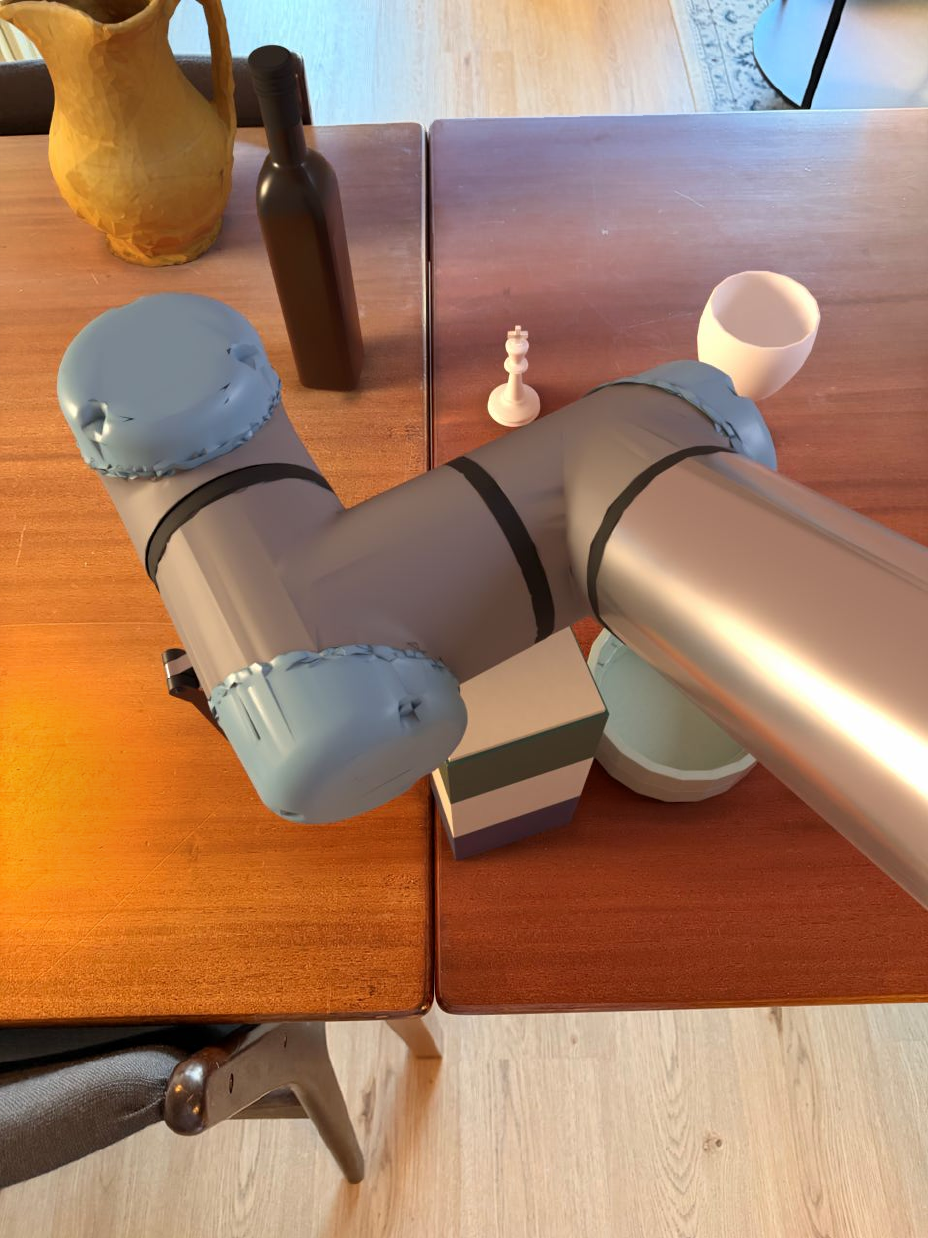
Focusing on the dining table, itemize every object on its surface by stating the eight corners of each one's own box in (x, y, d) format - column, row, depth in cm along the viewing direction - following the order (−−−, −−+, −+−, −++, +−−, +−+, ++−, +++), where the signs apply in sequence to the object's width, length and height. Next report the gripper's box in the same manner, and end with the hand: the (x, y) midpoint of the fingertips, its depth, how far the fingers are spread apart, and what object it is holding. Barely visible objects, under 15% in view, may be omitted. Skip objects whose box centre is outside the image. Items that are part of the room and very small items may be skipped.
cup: (762, 489, 80) (824, 361, 66) (660, 473, 81) (699, 343, 67) (767, 411, 84) (826, 274, 70) (670, 397, 85) (709, 259, 71)
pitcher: (99, 168, 101) (6, -86, 78) (266, 179, 101) (222, -71, 79) (64, 282, 93) (-51, 38, 71) (244, 293, 94) (188, 54, 71)
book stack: (570, 822, 67) (610, 714, 47) (455, 861, 66) (446, 767, 46) (542, 749, 70) (567, 618, 50) (430, 785, 68) (412, 665, 49)
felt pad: (604, 712, 47) (605, 709, 47) (449, 762, 46) (449, 760, 46) (565, 622, 50) (566, 618, 50) (417, 668, 49) (417, 665, 48)
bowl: (796, 769, 69) (823, 742, 63) (621, 829, 67) (633, 807, 61) (713, 610, 75) (731, 574, 70) (550, 661, 73) (556, 628, 68)
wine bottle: (297, 389, 86) (217, 79, 60) (310, 345, 89) (239, 28, 62) (356, 395, 86) (301, 85, 59) (367, 350, 88) (319, 34, 62)
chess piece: (541, 426, 84) (548, 348, 75) (488, 427, 84) (489, 349, 75) (538, 385, 86) (545, 305, 77) (487, 386, 86) (488, 306, 77)
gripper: (391, 474, 47) (419, 663, 68) (75, 562, 45) (203, 730, 66) (434, 591, 44) (450, 753, 65) (95, 693, 42) (223, 826, 63)
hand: (325, 741), depth 65 cm, fingers closed on eraser, 3 cm apart
